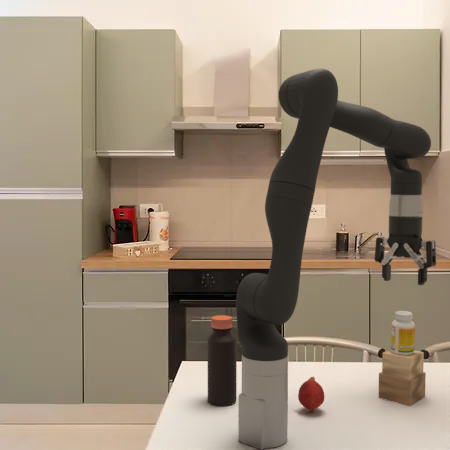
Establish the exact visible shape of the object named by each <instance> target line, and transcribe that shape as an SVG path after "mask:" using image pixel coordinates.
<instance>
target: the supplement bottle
mask: <svg viewBox="0 0 450 450" xmlns="http://www.w3.org/2000/svg"><path fill="white" fill-rule="evenodd" d="M413 317H414V316H413V312H411V311H407V310H397V311H395V312H394V320H392V322H391V330H390V331H391V332H390V334H391V335H390V349H391V351H392V352H393V353H395V354H398V355H411V354H413V353H414V351H415V341H416V339H415V338H416V337H415V335H416V334H415V333H416V323H415V322H414V321H413Z"/></svg>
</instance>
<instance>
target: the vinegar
mask: <svg viewBox="0 0 450 450" xmlns="http://www.w3.org/2000/svg"><path fill="white" fill-rule="evenodd" d="M210 319H211V321H210V322H211V325H210V326H211V331H212V333H211V334H210V335H209V337H208V338H207V401H208V403H210V405H212V406H217V407H226V406H231V405H234V404H235V403H236V402H237V338H236V336H235V335H234V334H233V333H232V330H233V316H230V315H213V316H212V317H211V318H210Z"/></svg>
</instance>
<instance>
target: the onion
mask: <svg viewBox="0 0 450 450" xmlns="http://www.w3.org/2000/svg"><path fill="white" fill-rule="evenodd" d="M297 397H298V401H299V403H300V405H301V406H303V408H304V409H306V410H308V411H309V412H311V413H312V412H315V411H316V410H317V409H319V408H320V407H321V406H322V405H323V403H324V402H325V392H324V389H323V386H322V385H321V384H320V383H318V381H316V377H315V376H311V377H309V378H308V379H307V380H305V381H304V382H303V383H302V384H301V385H300V387H299V390H298V395H297Z"/></svg>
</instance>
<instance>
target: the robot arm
mask: <svg viewBox="0 0 450 450" xmlns="http://www.w3.org/2000/svg"><path fill="white" fill-rule="evenodd" d="M338 85H339V84H338V81H337V79H336V76H335V75H334V74H333V72H331V71H330V70H329V69H326V68H315V69H310V70H307V71H304V72H299V73H297V74H294V75H293V74H292V75H291V76H288V77H287V78H285V80H284V81H283V82H282V83H281V85H280V87H279V89H278V93H277V94H278V102H279V105H280V107H281V109H282V110H283V112H284V113H286V114H287V115H288V116H289V117H291V118H294V119H297V124H296V128H295V132H294V135H293V136H292V139H291V140H290V142H289V144H288V146H286V149H285V150H284V152H283V153H282V154H281V157H280V158H279V159H278V161H277V162H276V164H275V166H274V168H273V170H272V173H271V175H270V179H269V182H268V187H267V192H266V197H265V203H264V212H265V219H266V224H267V226H268V232H269V236H270V240H271V245H272V247H271V248H272V249H271V251H272V252H271V260H270V263H269V264H270V265H269V270H268V274H267V273H261V272H252V273H249V274H247V275H246V276H244V277H243V278H242V280H241V282H240V283H239V284H238V285H239V286H238V288H237V292H236V299H235V300H236V301H235V302H236V303H235V305H236V306H235V307H236V308H235V309H236V310H235V311H236V331H237V339H238V341H239V344H240V347H241V393H239V394H238V441H239V442H241V443H243V444H245V445H249V446H251V447H254V448H256V449H259V450H265V449H269V448H276V447H280V446H282V445H284V444H285V443H286V442H287V441H288V424H289V423H288V422H289V421H288V418H289V416H288V412H289V410H288V409H289V408H288V407H289V406H288V404H289V403H288V402H289V401H288V399H289V395H288V394H289V393H288V392H289V391H288V390H289V387H288V386H289V377H288V376H289V343H288V341H287V339H286V338H285V337H284V336H283V335H282V334H281V333H280V332H279V331H278V328H276V326H281V325H284V324H285V323H287V322H288V321H289V320H290V319H291V318H292V317H293V314H294V313H295V309H296V306H297V304H298V298H299V292H300V291H299V289H300V279H301V270H302V259H303V252H304V245H305V240H306V234H307V228H308V224H309V220H310V215H311V211H312V208H313V203H314V196H315V192H316V185H317V178H318V175H319V170H320V166H321V162H322V157H323V153H324V148H325V144H326V140H327V138H328V133H329V130H330V128H332V129H334V130H338V131H340V132H343V133H345V134H348V135H351V136H353V137H355V138H356V139H357V138H358V139H360V140H361V141H364V142H366V143H368V144H370V145H373V146H375V147H378V148H381V149H383V151H384V157H385V160H386V163H387V168H388V172H389V175H390V197H389V203H388V238H387V237H385V236H378V237H376V239H375V249H374V250H375V251H374V261H375V262H377V263H378V264H380V265H381V268H382V269H381V271H382V272H381V276H382V279H383V281H386V282H389V281H390V280H392V276H391V275H392V265H391V263H392V262H393V260H394V259H395V258H405V259H410V258H411V259H412V260H413V262H414V263H416V265H417V267H418V269H417V285H418V286H424V285H425V284H426V283H427V280H428V269H429V268H432V267H436V266H437V255H436V253H437V252H436V249H437V248H436V246H437V245H436V241H435V240H434V239H433V240H423V238H422V235H423V214H424V210H423V198H422V197H423V196H422V195H423V194H422V193H423V174H422V172H421V171H420V170H418V169H415V168H414V169H413V168H411V167H410V164H409V160H411V159H412V160H413V159H419V158H422V157H425V156H426V155H427V154H428V153H429V152H430V149H431V146H432V139H431V136H430V134H429V133H428V132H427V131H426V130H425V128H422V127H421V126H419V125H415V124H414V123H410V122H406V121H401V120H397V119H394V118H391V117H390V116H388V115H386V114H384V113H382V112H380V111H378V110H376V109H375V108H374V109H373V108H371V107H367V106H365V105H360V104H355V103H349V102H347V101H346V102H345V101H341V100H338V98H339V86H338ZM387 245H388V247H389V248H390V249H389V250H388V251H387V252H386V253H385V251H386V250H385V248H386V246H387ZM422 247H423V249H424V250H425V251H426V252H425V254H426V259H425V256H424V254H423V253H422V251H421V249H422Z"/></svg>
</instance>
